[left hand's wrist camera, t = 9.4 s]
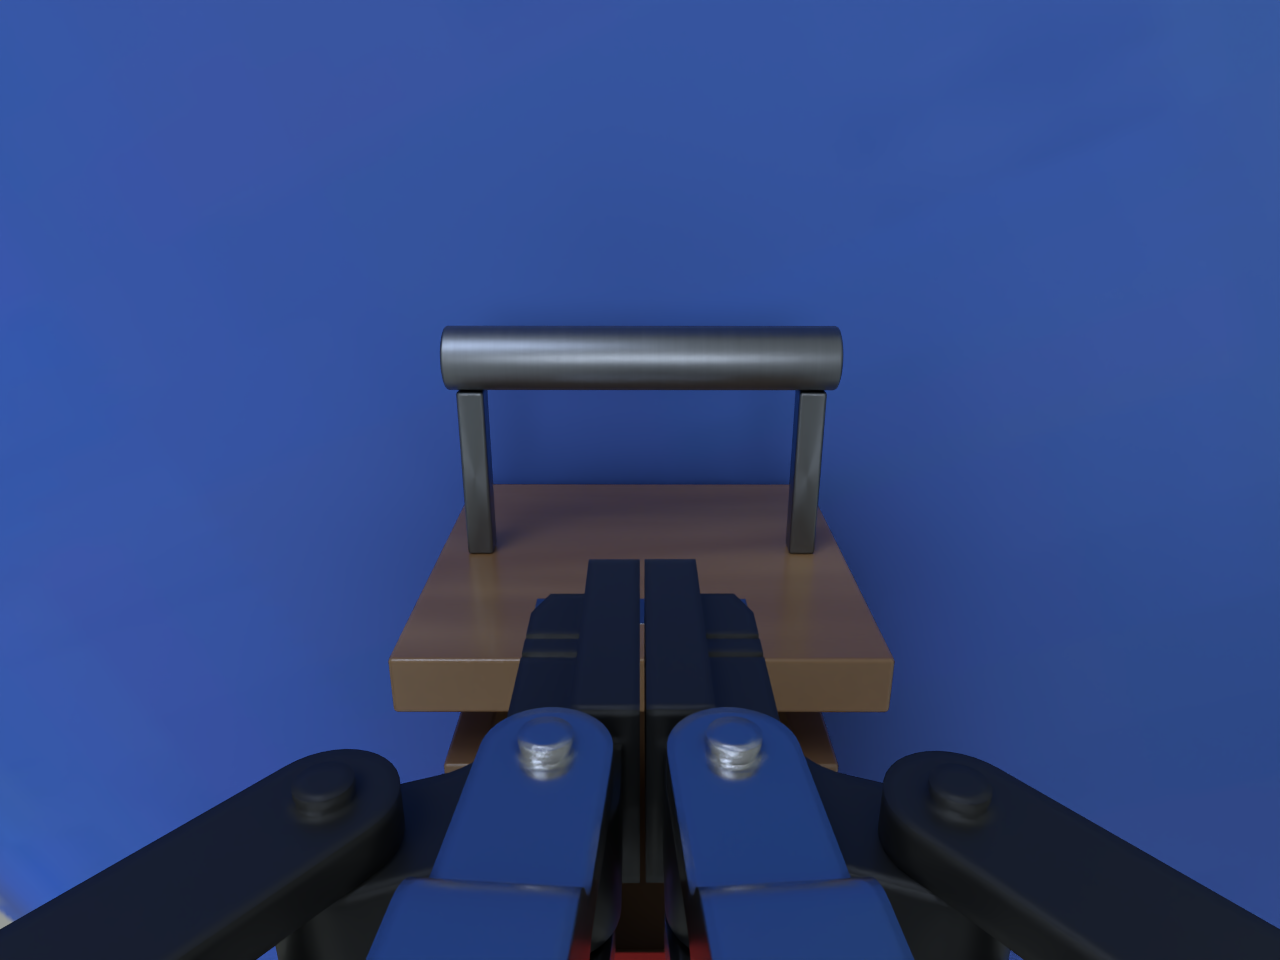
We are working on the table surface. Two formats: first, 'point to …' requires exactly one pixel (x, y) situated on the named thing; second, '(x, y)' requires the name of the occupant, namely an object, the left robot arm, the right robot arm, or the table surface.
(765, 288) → the table surface
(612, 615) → the left robot arm
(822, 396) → the drawer
